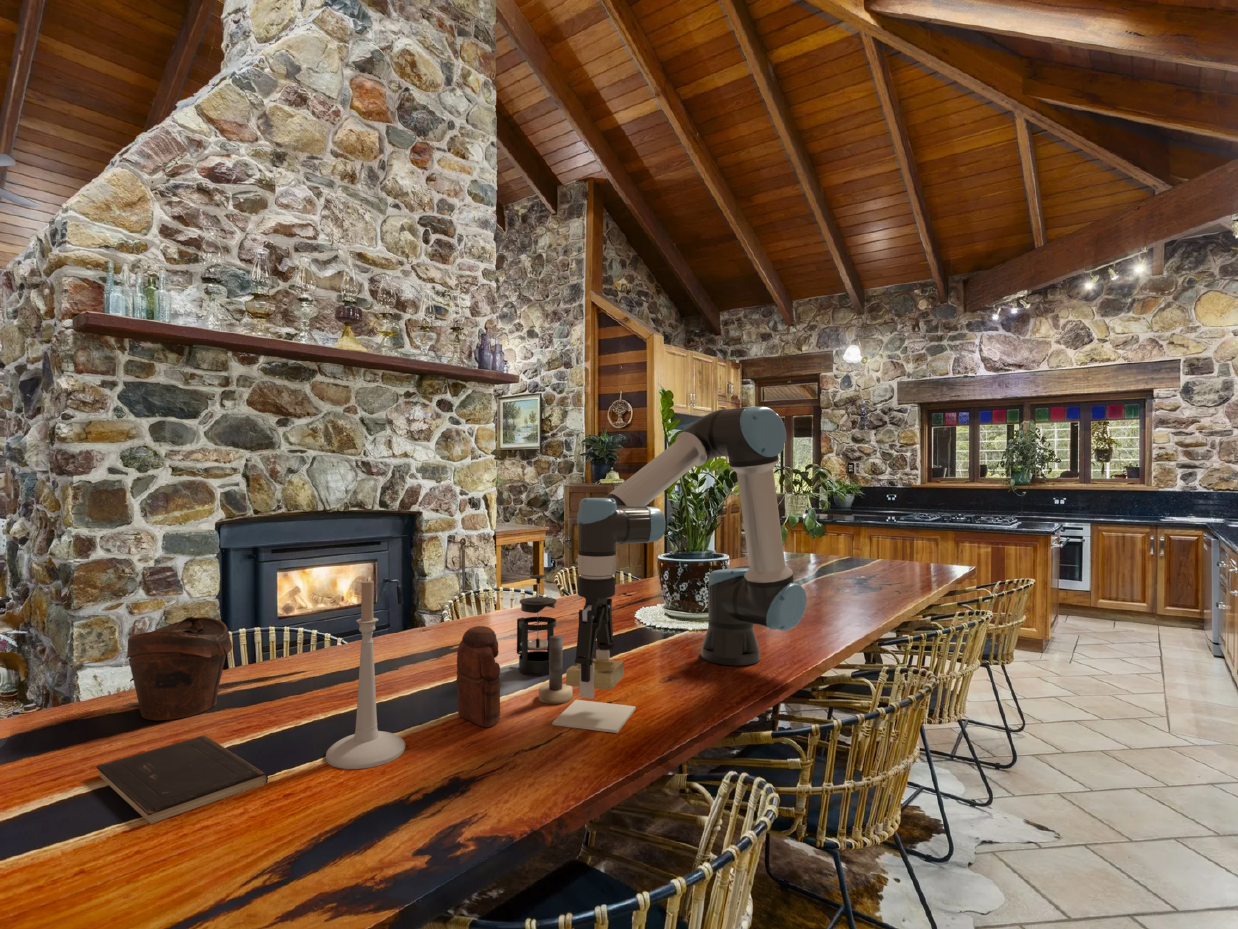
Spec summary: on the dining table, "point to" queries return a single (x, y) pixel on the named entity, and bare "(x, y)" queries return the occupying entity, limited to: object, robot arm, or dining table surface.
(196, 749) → the hardcover book
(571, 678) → the brass C-link
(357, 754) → the candlestick
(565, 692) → the peg stand
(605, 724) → the felt mat
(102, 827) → the dining table surface
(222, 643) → the case
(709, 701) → the dining table surface
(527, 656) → the french press
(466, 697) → the wooden figurine
